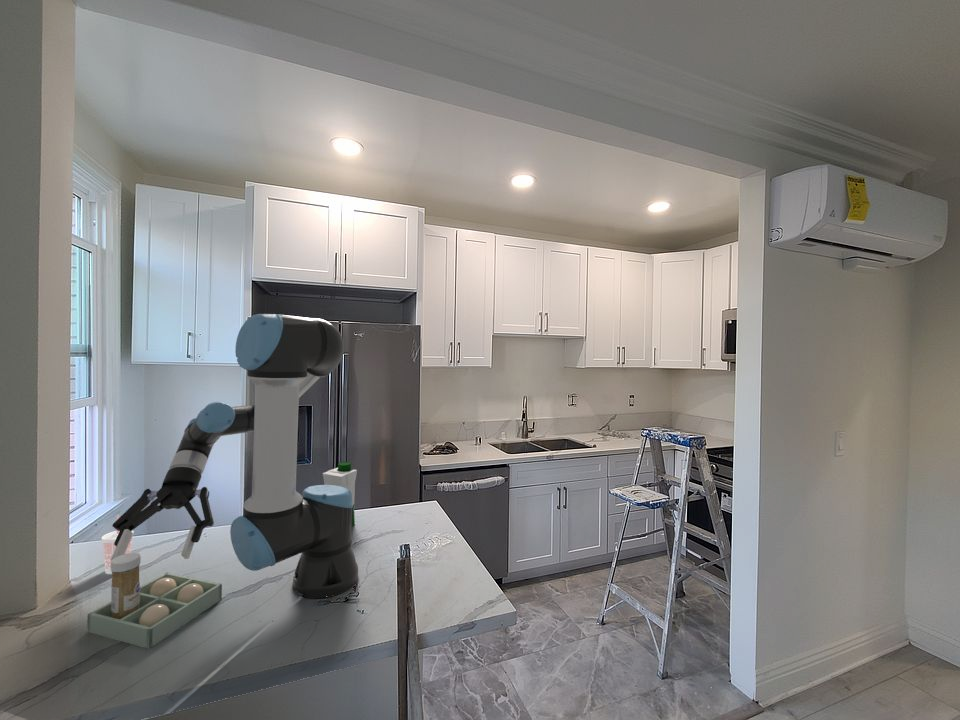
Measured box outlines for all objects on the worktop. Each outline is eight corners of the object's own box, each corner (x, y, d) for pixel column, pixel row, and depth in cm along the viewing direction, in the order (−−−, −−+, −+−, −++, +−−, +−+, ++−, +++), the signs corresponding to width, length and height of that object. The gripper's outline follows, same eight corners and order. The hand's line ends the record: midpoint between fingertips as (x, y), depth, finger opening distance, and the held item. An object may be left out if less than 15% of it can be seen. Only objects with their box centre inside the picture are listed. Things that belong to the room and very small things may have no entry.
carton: (221, 601, 91) (221, 583, 91) (148, 651, 76) (149, 629, 76) (166, 589, 95) (167, 572, 95) (87, 634, 80) (87, 614, 80)
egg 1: (181, 596, 92) (182, 575, 92) (160, 609, 87) (160, 587, 87) (165, 592, 93) (165, 571, 93) (143, 605, 89) (143, 583, 88)
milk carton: (358, 523, 134) (360, 463, 134) (339, 534, 126) (341, 470, 125) (337, 518, 138) (339, 460, 137) (317, 529, 129) (319, 466, 129)
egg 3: (208, 602, 90) (209, 580, 90) (188, 615, 86) (188, 593, 85) (191, 598, 91) (192, 577, 91) (170, 611, 87) (171, 589, 87)
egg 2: (175, 624, 83) (175, 601, 83) (151, 640, 78) (151, 615, 78) (157, 619, 84) (157, 596, 84) (132, 635, 79) (132, 611, 79)
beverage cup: (138, 561, 107) (138, 509, 107) (125, 574, 101) (126, 518, 101) (109, 564, 105) (110, 511, 105) (95, 577, 99) (96, 520, 99)
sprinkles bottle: (138, 624, 82) (138, 559, 82) (108, 632, 80) (108, 565, 79) (141, 612, 86) (142, 549, 86) (113, 619, 84) (113, 555, 83)
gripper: (241, 477, 110) (217, 560, 96) (136, 481, 105) (93, 568, 91) (234, 463, 105) (207, 549, 91) (123, 466, 100) (75, 557, 86)
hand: (150, 559), depth 91 cm, fingers open, 13 cm apart
